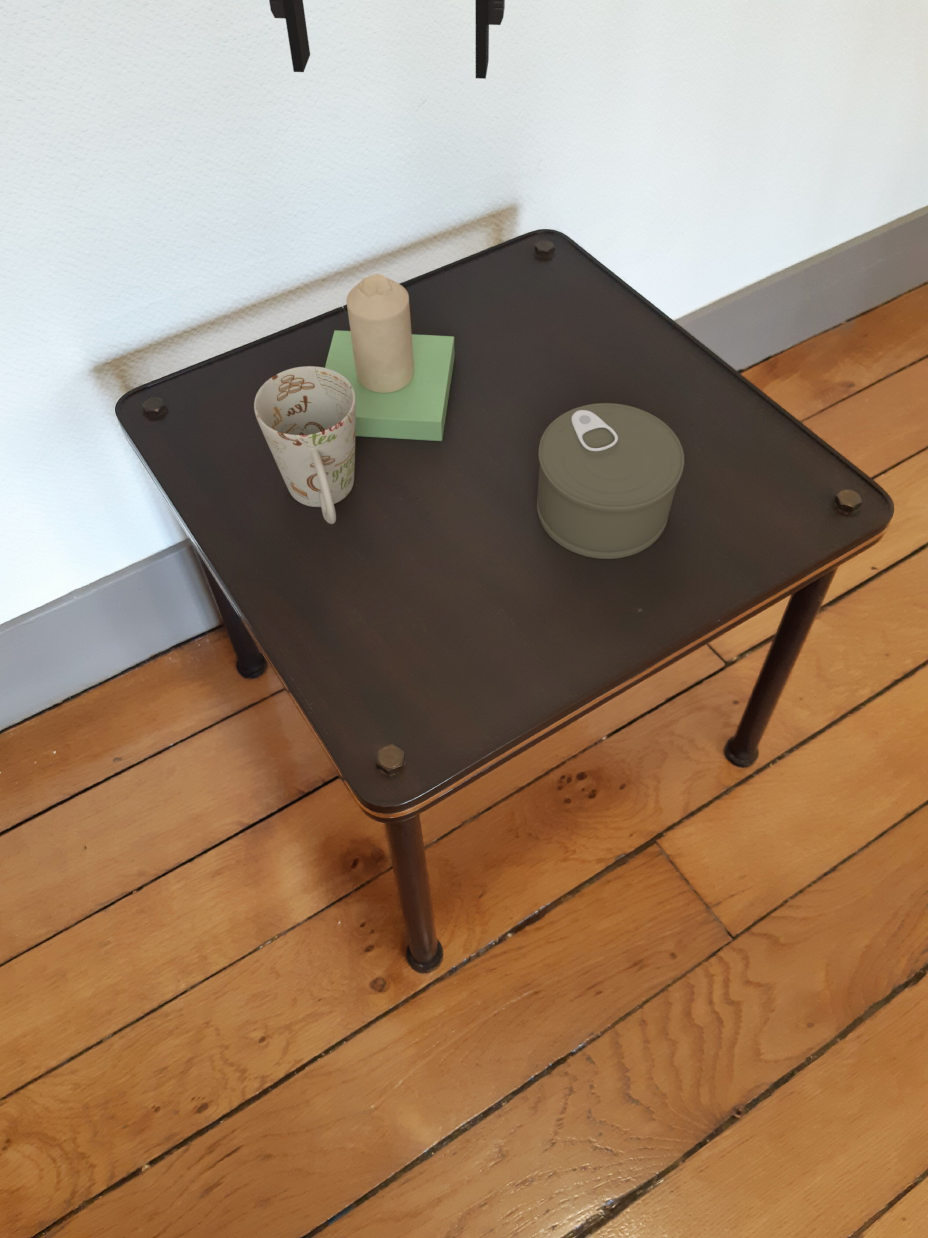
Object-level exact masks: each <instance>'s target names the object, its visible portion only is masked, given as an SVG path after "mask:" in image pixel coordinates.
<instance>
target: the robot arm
mask: <svg viewBox="0 0 928 1238" xmlns="http://www.w3.org/2000/svg"><path fill="white" fill-rule="evenodd" d="M268 2H269V8H270V12H271V14H272V16H273V17H274V19H285V26H286V31H287V37H288V43H289V49H290V50H289V51H290V57H291V63H292V70H293V73H304V72H305V70H306V67H307V64H308V62H309V59H310V57H311V49H310V42H309V36H308V28H307V19H306V13H305V7H304V6H305V5H304V0H268ZM505 9H506V0H475V79H484V80H486V79H487V74H488V68H489V67H488V66H489V58H490V57H489V55H490V54H489V53H490V50H489V49H490V26H501V25H502V22H503V19H504V15H505Z"/></svg>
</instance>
